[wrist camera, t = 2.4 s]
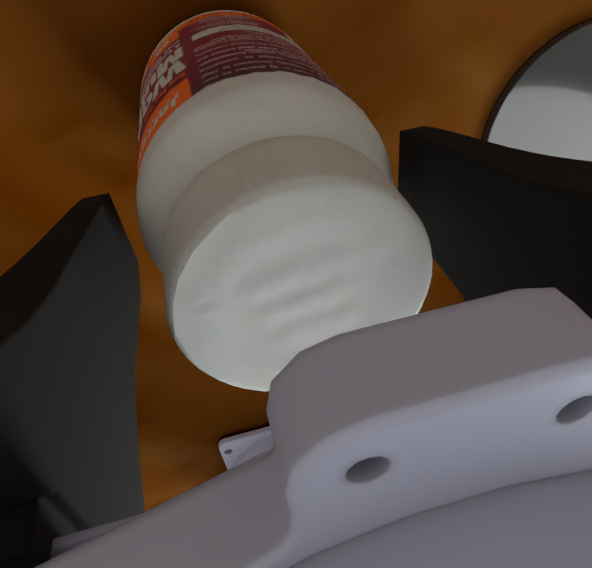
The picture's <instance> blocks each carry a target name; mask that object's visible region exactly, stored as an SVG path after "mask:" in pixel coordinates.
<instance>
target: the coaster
mask: <svg viewBox="0 0 592 568" xmlns="http://www.w3.org/2000/svg"><path fill="white" fill-rule="evenodd" d="M482 140H484V141H487V142H491V143H495V144H499V145H503V146H507V147H511V148H515V149H520V150H524V151H529V152H533V153H538V154H544V155H549V156H556V157H563V158H570V159H576V160H585V161H592V19H591V20H588V21H585V22H583V23H581V24H578V25H576V26H574V27H572V28H570V29H568V30H567V31H565V32H563V33H561V34H560V35H558V36H557V37H555V38H554V39H553V40H551V41H550V42H548V43H547V44H546V45H545V46H543V47H542V48H541V49H540V50H539V51H537V52H536V53H535V54H534V55H533V56H532V57H531V58H530V59H529V60H528V61H527V62H526V63H525V64H524V65H523V66H522V67H521V69H520V70H519V71H518V72H517V73H516V75H515V76H514V77H513V78H512V79H511V81H510V82H509V84H508V85H507V87H506V88H505V90H504V91H503V93H502V94H501V96H500V98H499V99H498V101H497V103H496V105H495V107H494V109H493V111H492V113H491V115H490V118H489V120H488V122H487V125H486V129H485V132H484V135H483V139H482Z"/></svg>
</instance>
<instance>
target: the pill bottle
mask: <svg viewBox="0 0 592 568" xmlns="http://www.w3.org/2000/svg"><path fill="white" fill-rule="evenodd" d="M136 198H137V215H138V222H139V227H140V231H141V234H142V238H143V241H144V244H145V246H146V248H147V250H148V252H149V254H150V256H151V258H152V259H153V261H154V263H155V264H156V266H157V267H158V268H159V269H160V271H161V272H162V273H163V279H164V294H165V306H166V316H167V320H168V325H169V327H170V330H171V333H172V336H173V337H174V339H175V341H176V343H177V345H178V347H179V348H180V350H181V351H182V352H183V353H184V355H185V356H186V357H187V358H188V359H189V360H190V361H191V362H192V363H193V364H194V365H195V366H196V367H198V368H199V369H200V370H202V371H203V372H205V373H207V374H208V375H210V376H212V377H214V378H216V379H218V380H220V381H222V382H225V383H227V384H230V385H233V386H237V387H240V388H245V389H250V390H258V391H269V390H270V384H271V381H272V380H273V379H274V378H275V377H276V376H277V375H278V374H279V373H280V372H281V371H282V370H283V368H284V367H285V366H286V365H287V364H288V363H289V362H290V361H291V360H292V359H293V358H294V357H295V356H296V355H297V354H298V353H299V352H300V351H302V350H304V349H306V348H309V347H311V346H313V345H315V344H317V343H320V342H322V341H324V340H326V339H328V338H331V337H333V336H335V335H337V334H341V333H345V332H349V331H353V330H357V329H361V328H365V327H369V326H373V325H376V324H380V323H384V322H388V321H392V320H396V319H400V318H404V317H408V316H412V315H415V314H418V313H419V311H420V309H421V307H422V305H423V302H424V300H425V298H426V296H427V292H428V289H429V285H430V281H431V277H432V251H431V245H430V241H429V238H428V234H427V232H426V230H425V227H424V225H423V223H422V221H421V220H420V218H419V217H418V215H417V214H416V212H415V211H414V210H413V208H412V207H411V206H410V204H409V203H408V202H407V201H406V199H405V198H404V197H403V196H402V195H401V194H400V193H399V191H398V190H397V189H396V187H395V186H394V184H393V175H392V169H391V165H390V160H389V157H388V153H387V151H386V148H385V146H384V144H383V141H382V139H381V137H380V135H379V133H378V132H377V130H376V129H375V128H374V126H373V125H372V123H371V122H370V121H369V119H368V117H367V116H366V115H365V113H364V112H363V110H362V109H361V108H360V107H359V106H358V105H357V104H356V103H355V102H354V101H353V100H352V99H351V98H350V97H348V96H347V95H346V94H345V93H344V92H343V91H342V90H341V88H340V87H339V86H337V85H336V84H335V83H334V82H333V81H332V80H331V79H330V78H329V76H328V75H327V74H326V73H325V72H324V71H323V70H322V69H321V68H320V67H319V66H318V65H317V64H316V63H315V62H314V61H313V60H312V59H311V58H310V57H309V56H308V55H307V54H306V53H305V52H304V51H303V50H302V49H301V48H300V47H299V46H298V45H297V44H296V43H295V42H294V41H293V40H292V39H291V38H290V37H289V36H288V35H287V34H285V33H284V32H283V31H282V30H281V29H279V28H278V27H277V26H275V25H274V24H272V23H270V22H268V21H266V20H264V19H262V18H260V17H258V16H255V15H253V14H249V13H245V12H241V11H234V10H217V11H210V12H205V13H202V14H199V15H196V16H193V17H191V18H189V19H187V20H185V21H183V22H182V23H180V24H179V25H177V26H176V27H175V28H173V29H172V30H171V31H170V32H169V33H168V34H167V35H166V36H165V37H164V38H163V39H162V40H161V41H160V43H159V44H158V45H157V47H156V48H155V50H154V51H153V53H152V55H151V57H150V59H149V61H148V64H147V66H146V69H145V72H144V76H143V80H142V85H141V94H140V117H139V133H138V177H137V190H136Z"/></svg>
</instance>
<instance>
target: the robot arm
mask: <svg viewBox="0 0 592 568" xmlns="http://www.w3.org/2000/svg"><path fill="white" fill-rule="evenodd" d="M398 191H399V193H400V194H401V195H402V196H403V197H404V198H405V199H406V201H407V202H408V203H409V204H410V206H411V207H412V208H413V210H414V211H415V212H416V214H417V215H418V217H419V218H420V220H421V221H422V223H423V225H424V227H425V230H426V232H427V234H428V238H429V241H430V245H431V251H432V257H433V258H434V259H435V261H436V262H437V263H438V264H439V266H440V267H441V268H442V270H443V271H444V272H445V273H446V275H447V276H448V277H449V279H450V280H451V281H452V282H453V284H454V285H455V286H456V288H457V289H458V290H459V292H460V293H461V295H462V296H463V298H464V299H465V301H466V302H462V303H458V304H455V305H451V306H447V307H443V308H439V309H435V310H431V311H427V312H423V313H419V314H415V315H412V316H408V317H404V318H400V319H396V320H392V321H388V322H384V323H380V324H376V325H373V326H369V327H365V328H361V329H357V330H353V331H349V332H345V333H341V334H337V335H335V336H333V337H331V338H328V339H326V340H324V341H322V342H320V343H317V344H315V345H313V346H311V347H309V348H306V349H304V350H302V351H300V352H299V353H298V354H297V355H296V356H295V357H294V358H293V359H292V360H291V361H290V362H289V363H288V364H287V365H286V366H285V367H284V368H283V370H282V371H281V372H280V373H279V374H278V375H277V376H276V377H275V378H274V379H273V380H272V381H271V384H270V390H269V396H268V402H267V408H266V411H267V415H268V420H269V424H270V426H268V427H264V428H260V429H257V430H253V431H249V432H246V433H242V434H238V435H235V436H231V437H227V438H224V439H222V440H220V441H219V443H218V445H219V450H220V453H221V455H222V458H223V460H224V462H225V465H226V467H227V471H225V472H223V473H221V474H219V475H217V476H215V477H213V478H211V479H209V480H207V481H205V482H203V483H201V484H199V485H197V486H195V487H193V488H191V489H189V490H187V491H185V492H183V493H181V494H179V495H177V496H175V497H173V498H171V499H169V500H167V501H166V502H164V503H162V504H160V505H158V506H156V507H154V508H152V509H150V510H148V511H146V512H145V508H144V499H143V489H142V478H141V468H140V457H139V443H138V429H137V413H136V393H135V367H136V354H137V341H138V328H139V314H140V299H141V292H140V278H139V268H138V261H137V259H136V256H135V254H134V252H133V249H132V247H131V244H130V242H129V240H128V237H127V235H126V233H125V230H124V228H123V225H122V223H121V221H120V218H119V216H118V214H117V211H116V209H115V206H114V204H113V202H112V199H111V197H110V195H109V193H107V194H102V195H98V196H93V197H88V198H84V199H82V200H80V201H79V202H78V203H77V204H75V205H74V206H73V207H72V208H71V209H70V210H69V211H68V212H67V213H66V214H65V215H64V216H63V217H62V219H61V220H60V221H59V222H58V223H57V224H56V225H55V226H54V227H53V228H52V229H51V230H50V231H49V232H48V233H47V234H46V235H45V236H44V237H43V238H42V239H41V240H40V241H39V242H38V243H37V244H36V245H35V246H34V247H33V248H32V249H31V250H30V251H29V252H27V253H26V254H25V255H24V256H23V257H22V258H21V259H20V260H19V261H18V262H17V263H16V264H15V265H13V266H12V267H11V268H10V269H9V270H8V271H7V272H5V273H4V274H3V275H2V276H1V277H0V568H592V161H585V160H576V159H570V158H563V157H556V156H549V155H544V154H538V153H533V152H529V151H524V150H520V149H515V148H511V147H507V146H503V145H499V144H495V143H491V142H487V141H484V140H480V139H476V138H473V137H469V136H466V135H462V134H458V133H455V132H451V131H447V130H443V129H438V128H433V127H426V126H422V127H417V128H413V129H408V130H403V131H400V144H399V176H398Z"/></svg>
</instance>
